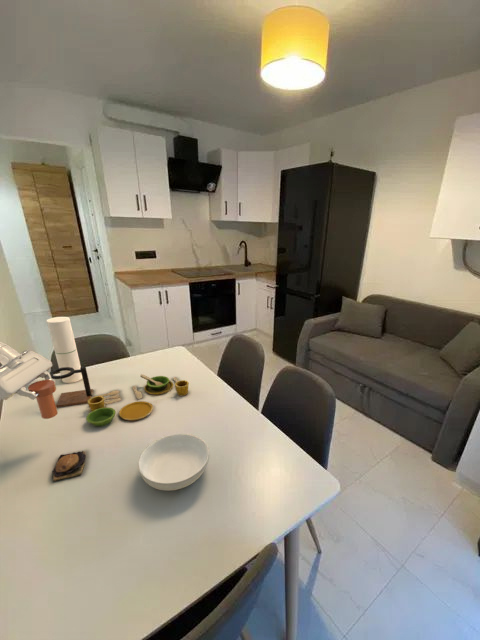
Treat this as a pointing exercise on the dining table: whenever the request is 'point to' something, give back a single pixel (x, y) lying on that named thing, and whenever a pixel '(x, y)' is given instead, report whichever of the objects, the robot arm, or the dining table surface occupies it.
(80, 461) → the open sandwich
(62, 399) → the cup holder
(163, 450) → the serving bowl
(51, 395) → the orange wooden peg
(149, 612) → the dining table surface
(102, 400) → the tableware set
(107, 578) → the dining table surface
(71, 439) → the dining table surface
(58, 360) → the container
